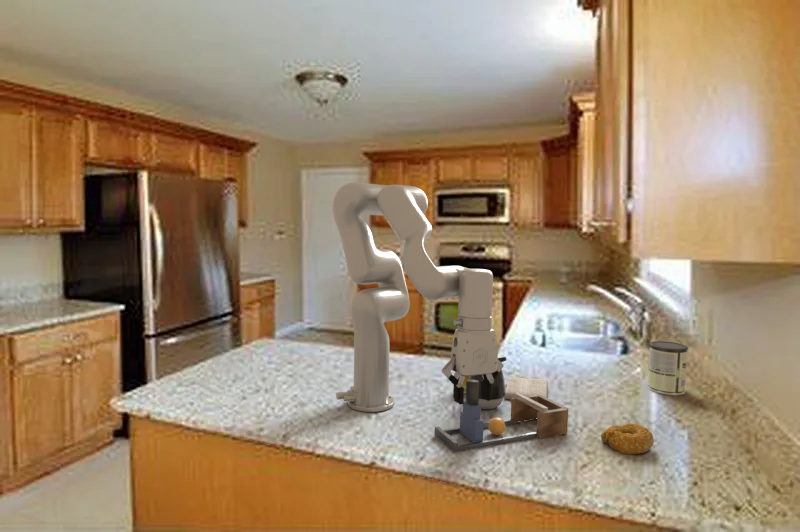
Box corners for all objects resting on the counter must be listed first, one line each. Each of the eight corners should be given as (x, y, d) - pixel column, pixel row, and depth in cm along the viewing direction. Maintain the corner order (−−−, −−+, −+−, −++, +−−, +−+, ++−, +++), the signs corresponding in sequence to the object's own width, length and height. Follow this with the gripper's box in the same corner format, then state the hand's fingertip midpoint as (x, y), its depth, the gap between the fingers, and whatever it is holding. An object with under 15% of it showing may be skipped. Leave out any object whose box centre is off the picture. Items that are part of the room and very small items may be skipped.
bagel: (610, 433, 123) (611, 413, 122) (659, 447, 115) (660, 427, 115) (593, 445, 115) (594, 425, 115) (644, 461, 108) (645, 440, 107)
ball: (494, 439, 117) (494, 422, 117) (484, 432, 121) (485, 416, 121) (508, 436, 119) (509, 420, 118) (498, 430, 122) (499, 413, 122)
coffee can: (646, 382, 162) (649, 339, 161) (683, 387, 158) (686, 343, 157) (647, 392, 153) (650, 346, 152) (686, 397, 149) (689, 350, 148)
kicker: (473, 443, 113) (475, 386, 112) (457, 431, 120) (459, 377, 119) (484, 441, 114) (486, 385, 113) (468, 430, 121) (470, 376, 120)
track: (454, 452, 110) (454, 443, 110) (434, 435, 119) (434, 426, 119) (536, 437, 119) (537, 429, 119) (512, 422, 127) (513, 414, 127)
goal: (539, 439, 118) (540, 408, 117) (510, 421, 128) (511, 393, 128) (568, 433, 121) (570, 404, 121) (538, 416, 132) (539, 389, 131)
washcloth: (547, 386, 158) (548, 377, 158) (548, 406, 141) (548, 395, 141) (509, 382, 161) (509, 373, 161) (504, 401, 144) (504, 390, 144)
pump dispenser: (497, 416, 132) (499, 358, 130) (460, 407, 137) (462, 352, 136) (510, 404, 140) (512, 350, 139) (475, 397, 146) (477, 345, 144)
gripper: (448, 329, 108) (446, 411, 110) (516, 324, 115) (513, 401, 116) (432, 322, 115) (430, 399, 116) (497, 318, 122) (494, 391, 123)
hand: (472, 400), depth 116 cm, fingers open, 6 cm apart
